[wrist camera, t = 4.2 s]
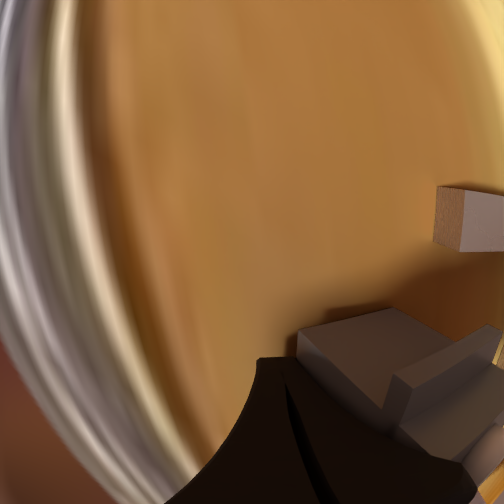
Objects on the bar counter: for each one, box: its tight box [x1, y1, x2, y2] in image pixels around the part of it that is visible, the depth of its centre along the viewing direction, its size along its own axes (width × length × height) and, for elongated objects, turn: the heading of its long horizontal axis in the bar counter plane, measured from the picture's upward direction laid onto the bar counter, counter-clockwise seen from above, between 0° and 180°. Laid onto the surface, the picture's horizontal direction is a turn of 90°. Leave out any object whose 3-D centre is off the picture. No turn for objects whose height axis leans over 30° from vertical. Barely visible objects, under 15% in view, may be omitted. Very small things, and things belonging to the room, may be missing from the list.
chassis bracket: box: [433, 186, 504, 370], centre depth 10 cm, size 13×9×2 cm
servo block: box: [296, 307, 504, 488], centre depth 7 cm, size 6×4×7 cm, turn 0°
